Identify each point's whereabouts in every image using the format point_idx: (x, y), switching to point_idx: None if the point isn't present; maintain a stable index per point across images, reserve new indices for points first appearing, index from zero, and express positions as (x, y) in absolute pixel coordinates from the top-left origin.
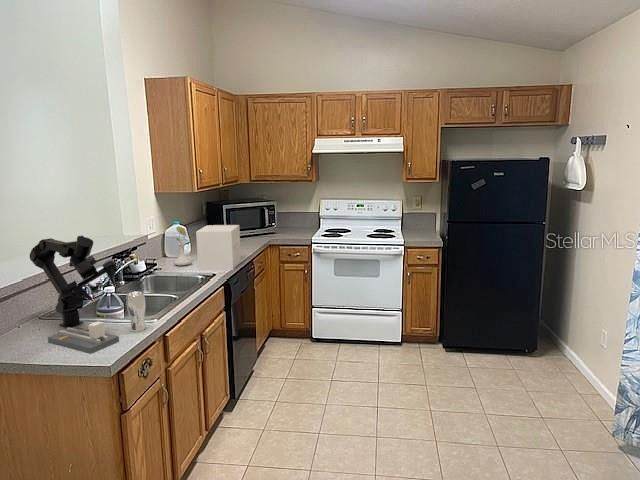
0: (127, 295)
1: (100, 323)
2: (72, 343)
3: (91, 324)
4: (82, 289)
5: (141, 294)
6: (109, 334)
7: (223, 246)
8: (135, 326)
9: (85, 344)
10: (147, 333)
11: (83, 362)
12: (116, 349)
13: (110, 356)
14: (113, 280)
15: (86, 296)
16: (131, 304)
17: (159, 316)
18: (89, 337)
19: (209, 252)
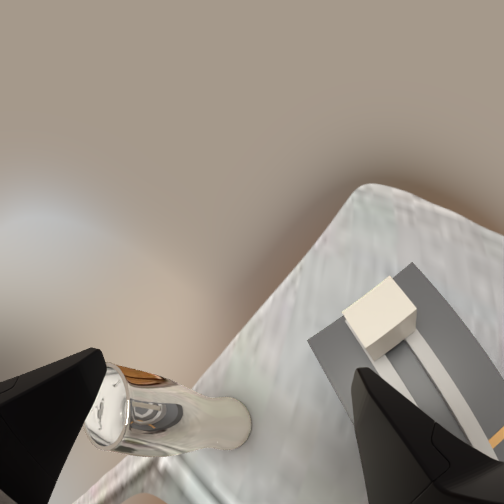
0: (127, 406)
1: (356, 302)
2: (478, 343)
3: (401, 307)
4: (449, 485)
5: None
6: (333, 381)
7: None
8: (228, 403)
9: (432, 309)
10: (220, 363)
11: (428, 215)
12: (335, 274)
13: (356, 229)
14: (48, 366)
15: (409, 401)
16: (163, 385)
17: (148, 476)
18: (416, 345)
19: None
